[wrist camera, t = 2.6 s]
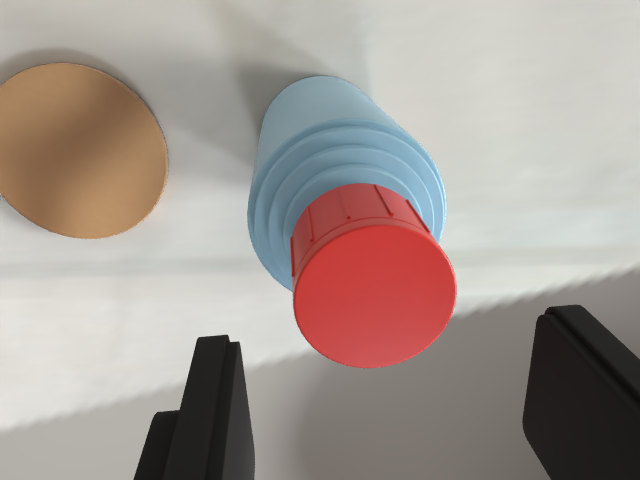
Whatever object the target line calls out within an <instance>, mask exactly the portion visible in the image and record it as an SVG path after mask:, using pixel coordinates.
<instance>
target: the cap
mask: <svg viewBox="0 0 640 480" xmlns="http://www.w3.org/2000/svg"><path fill="white" fill-rule="evenodd" d="M430 232H431V231H430V230H429V228H428V227H427V225H426V224H425V223H424V221H423V220H422V218H421V217H420V216H419V214H418V213H417V211H416V210H415V208H414V207H413V206H412V204H411V203H410V201H409V200H408V199H404V198H403V197H402V196H400V195H399V194H398V193H396V192H394V191H392V190H390V189H388V188H385V187H383V186H379V185H377V184H368V183H355V184H347V185H343V186H339V187H337V188H334V189H332V190H329V191H328V192H326V193H324V194H322V195H321V196H319V197H318V198H317V199H315V200H314V201H313V202H312V203H311V204H310V205H309V206H307V207H306V209H305V210H304V212H303V213H302V214H301V216H300V218H299V219H298V221H297V223H296V225H295V228H294V231H293V234H292V237H290V255H291V277H292V290H293V309H294V315H295V319H296V322H297V325H298V327H299V329H300V331H301V333H302V334H303V336H304V337H305V339H306V340H307V341H308V342H309V343H310V345H311V346H312V347H313V348H314V349H316V350H317V351H318V352H319V353H321V354H322V355H324V356H326V357H327V358H329V359H331V360H333V361H335V362H337V363H341V364H344V365H347V366H352V367H359V368H377V367H385V366H389V365H393V364H397V363H400V362H402V361H405V360H407V359H409V358H411V357H413V356H415V355H417V354H418V353H420V352H422V351H423V350H424V349H425V348H427V347H428V346H429V345H431V343H433V341H435V340H436V338H438V336H439V335H440V334H441V333H442V331H443V330H444V328H445V327H446V325H447V324H448V322H449V320H450V318H451V315H452V313H453V310H454V306H455V301H456V294H457V285H456V278H455V274H454V271H453V268H452V265H451V263H450V261H449V259H448V257H447V256H446V255H445V253H444V252H443V250H442V249H441V247H440V246H439V245H438V243H437V242H436V240H435V239H434V237H433V236H432V234H431V233H430Z"/></svg>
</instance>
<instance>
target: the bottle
mask: <svg viewBox="0 0 640 480" xmlns="http://www.w3.org/2000/svg"><path fill="white" fill-rule="evenodd" d="M355 183H368V184H377V185H379V186H383V187H385V188H388V189H390V190H392V191H394V192H396V193H398V194H399V195H400V196H402V197H403V198H404V199H408V200H409V201H410V203H411V204H412V206H413V207H414V208H415V210H416V211H417V213H418V214H419V216H420V217H421V218H422V220H423V221H424V223H425V224H426V225H427V227H428V228H429V230H430V231H431V232H430V233H431V234H432V236H433V237H434V239H435V240H436V242H437V243H439V241H440V238H441V236H442V232H443V229H444V225H445V218H446V195H445V188H444V184H443V181H442V178H441V175H440V173H439V171H438V168H437V166H436V164H435V163H434V161H433V160H432V158H431V157H430V155H429V154H428V152H427V151H426V150H425V149H424V148H423V147H422V146H421V145H420V144H419V143H418V142H417V141H416V140H415V139H414V138H413V137H412V136H411V135H409V134H408V133H407V132H406V131H405V130H404V129H403V128H402V127H401V126H399V125H398V124H397V123H396V122H395V121H394V120H393V119H392V118H391V117H390V116H388V115H387V114H386V113H385V112H384V111H383V110H382V109H381V108H380V107H379V106H377V105H376V104H375V103H374V102H373V101H372V100H371V99H370V98H369V97H367V96H366V95H365V94H364V93H363V92H362V91H361V90H359V89H358V88H357V87H356V86H354V85H352V84H351V83H349V82H347V81H345V80H342V79H339V78H336V77H330V76H314V77H308V78H304V79H301V80H299V81H296V82H294V83H293V84H291V85H289V86H287V87H286V88H285V89H284V90H282V91H281V92H280V93H279V94H278V95H277V96H276V97H275V99H274V100H273V101H272V103H271V104H270V106H269V108H268V109H267V111H266V114H265V116H264V119H263V123H262V128H261V133H260V139H259V145H258V150H257V156H256V162H255V167H254V173H253V179H252V184H251V190H250V196H249V202H248V212H247V216H248V229H249V234H250V239H251V242H252V245H253V247H254V250H255V252H256V254H257V256H258V258H259V260H260V261H261V263H262V264H263V266H264V267H265V269H266V270H267V271H268V272H269V273H270V274H271V275H272V276H273V278H274V279H276V280H277V281H278V282H279V283H280V284H282V285H283V286H284V287H286V288H287V289H289V290H290V291H292V292H293V290H292V277H291V255H290V237H292V234H293V231H294V228H295V225H296V223H297V221H298V219H299V218H300V216H301V214H302V213H303V212H304V210H305V209H306V207H307V206H309V205H310V204H311V203H312V202H313V201H314V200H315V199H317V198H318V197H319V196H321V195H322V194H324V193H326V192H328V191H329V190H332V189H334V188H337V187H339V186H343V185H347V184H355Z"/></svg>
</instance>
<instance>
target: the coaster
mask: <svg viewBox="0 0 640 480" xmlns="http://www.w3.org/2000/svg"><path fill="white" fill-rule="evenodd" d="M168 162H169V160H168V151H167V146H166V142H165V138H164V135H163V133H162V130H161V128H160V126H159V124H158V122H157V120H156V118H155V116H154V115H153V113H152V112H151V110H150V109H149V108H148V106H147V105H146V104H145V103H144V102H143V100H142V99H141V98H140V97H139V96H138V95H137V94H136V93H135V92H134V91H132V90H131V89H130V88H129V87H128V86H126V85H125V84H123V83H122V82H121V81H119V80H118V79H116V78H114V77H112V76H110V75H109V74H107V73H104V72H102V71H99V70H97V69H95V68H91V67H87V66H84V65H79V64H72V63H52V64H44V65H39V66H36V67H32V68H28V69H26V70H24V71H22V72H19V73H17V74H16V75H14V76H13V77H11V78H9V79H8V80H7V81H6V82H5V83H3V84H2V85H1V86H0V193H1V195H2V196H3V197H4V198H5V199H6V200H7V202H8V203H9V204H10V205H11V206H12V207H13V208H14V209H16V210H17V211H18V212H19V213H20V214H21V215H23V216H24V217H26V218H27V219H28V220H30V221H31V222H33V223H35V224H37V225H38V226H40V227H42V228H44V229H47V230H49V231H51V232H54V233H57V234H60V235H64V236H69V237H73V238H83V239H97V238H104V237H109V236H113V235H117V234H120V233H122V232H125V231H127V230H129V229H131V228H132V227H134V226H136V225H137V224H138V223H140V222H141V221H142V220H144V219H145V218H146V217H147V215H148V214H149V213H150V212H151V211H152V210H153V208H154V207H155V205H156V204H157V203H158V201H159V199H160V197H161V195H162V193H163V191H164V188H165V185H166V182H167V176H168Z"/></svg>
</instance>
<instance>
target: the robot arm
mask: <svg viewBox="0 0 640 480" xmlns="http://www.w3.org/2000/svg"><path fill="white" fill-rule="evenodd" d="M522 423H523V430H524V433H525V436H526V438H527V440H528V442H529V444H530V445H531V447H532V448H533V450H534V452H535V454H536V455H537V457H538V459H539V460H540V462H541V463H542V465H543V467H544V469H545V470H546V472H547V474H548V475H549V477H550V478H551V480H640V359H639V358H638V357H636V356H635V355H634V354H633V353H632V352H631V351H630V350H629V349H628V348H627V347H626V346H625V345H624V344H623V343H621V342H620V341H619V340H618V339H617V338H616V337H615V336H614V335H613V334H612V333H611V332H610V331H609V330H607V329H606V328H605V327H604V326H603V325H602V324H601V323H600V322H599V321H598V320H597V319H596V318H594V317H593V316H592V315H591V314H590V313H589V312H588V311H587V310H586V309H585V308H584V307H582V306H581V305H567V306H555V307H549V308H547V310H546V311H545V314H544V315H540V316H539V317H538V319H537V322H536V329H535V337H534V343H533V350H532V357H531V364H530V372H529V378H528V385H527V393H526V399H525V406H524V413H523V422H522ZM254 472H255V454H254V443H253V435H252V428H251V421H250V413H249V407H248V398H247V391H246V383H245V376H244V369H243V361H242V354H241V347H240V342H239V341H238V342H230V340H229V337H228V335H219V336H207V337H199V338H198V339H197V342H196V346H195V350H194V354H193V358H192V362H191V366H190V370H189V374H188V378H187V382H186V386H185V390H184V395H183V398H182V403H181V407H180V410H175V411H165V412H157V413H156V414H155V415H154V417H153V420H152V422H151V425H150V429H149V432H148V435H147V438H146V442H145V445H144V448H143V451H142V454H141V457H140V461H139V464H138V467H137V470H136V473H135V477H134V480H254Z"/></svg>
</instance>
